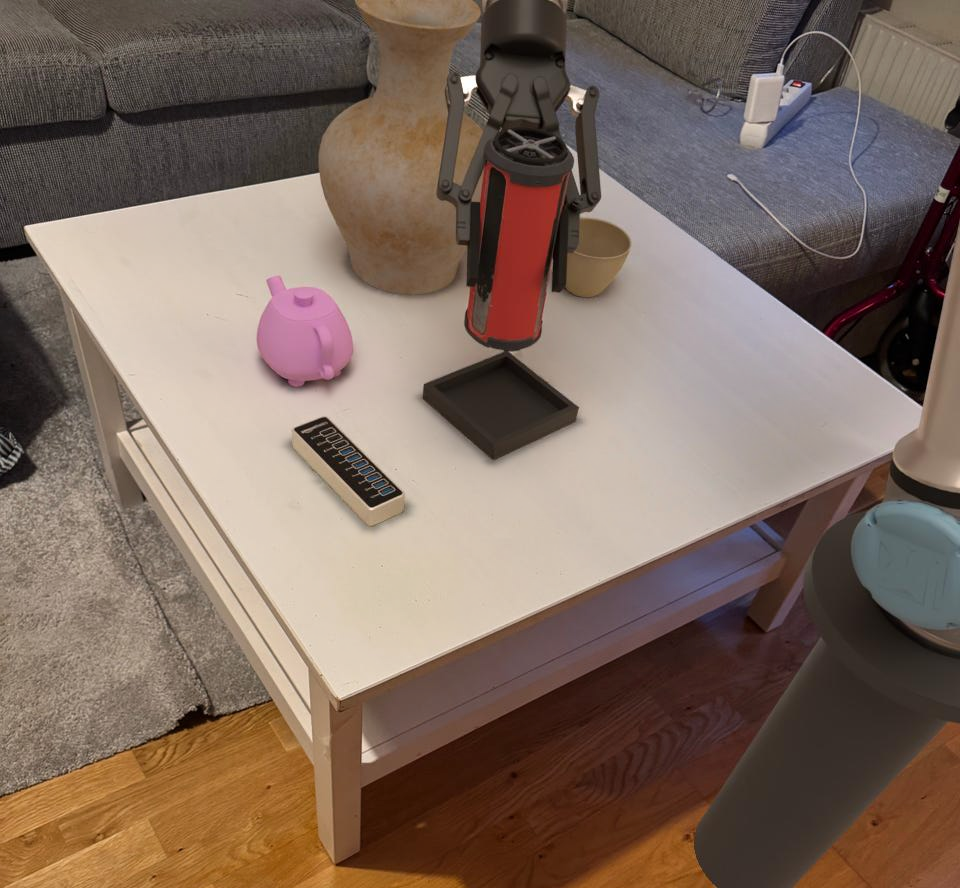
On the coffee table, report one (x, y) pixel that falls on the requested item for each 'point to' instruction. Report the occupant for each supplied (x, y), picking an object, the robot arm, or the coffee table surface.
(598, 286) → the flower pot
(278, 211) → the coffee table surface
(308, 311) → the teapot
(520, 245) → the speaker
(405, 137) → the vase
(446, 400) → the dock pad
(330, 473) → the multiport hub
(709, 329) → the coffee table surface
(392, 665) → the coffee table surface
